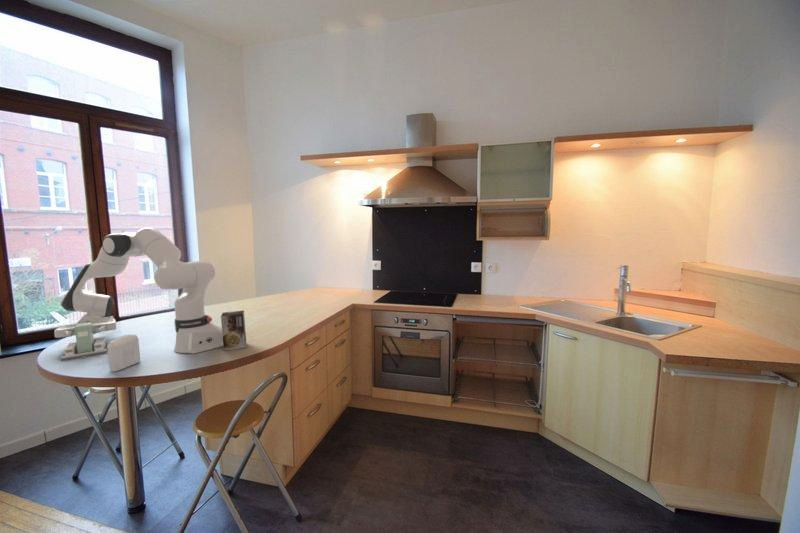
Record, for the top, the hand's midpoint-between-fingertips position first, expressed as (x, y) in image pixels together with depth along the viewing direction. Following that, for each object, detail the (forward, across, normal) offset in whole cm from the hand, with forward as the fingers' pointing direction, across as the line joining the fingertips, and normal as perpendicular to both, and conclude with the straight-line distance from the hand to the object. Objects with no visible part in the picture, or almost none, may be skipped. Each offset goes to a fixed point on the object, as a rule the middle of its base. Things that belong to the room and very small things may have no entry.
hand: (84, 332), depth 140 cm
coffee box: (+33, +54, +9) cm, 64 cm away
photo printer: (+30, +15, +9) cm, 34 cm away
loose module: (+1, 0, +8) cm, 8 cm away
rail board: (+1, 0, +9) cm, 9 cm away
